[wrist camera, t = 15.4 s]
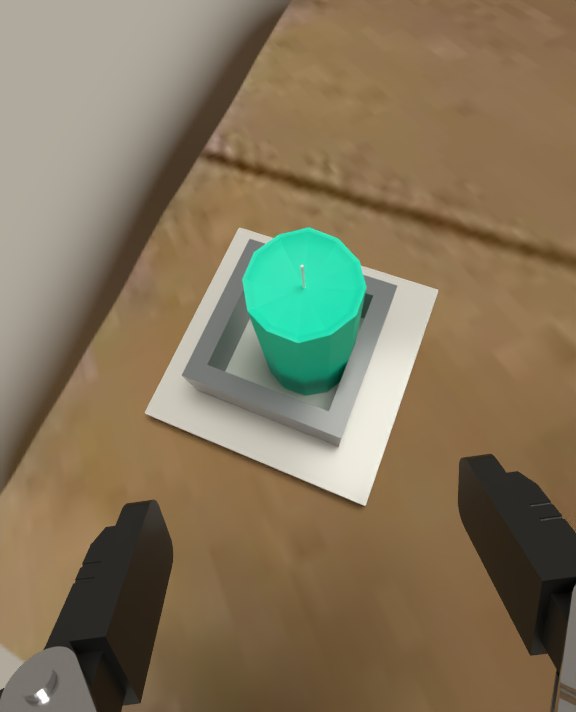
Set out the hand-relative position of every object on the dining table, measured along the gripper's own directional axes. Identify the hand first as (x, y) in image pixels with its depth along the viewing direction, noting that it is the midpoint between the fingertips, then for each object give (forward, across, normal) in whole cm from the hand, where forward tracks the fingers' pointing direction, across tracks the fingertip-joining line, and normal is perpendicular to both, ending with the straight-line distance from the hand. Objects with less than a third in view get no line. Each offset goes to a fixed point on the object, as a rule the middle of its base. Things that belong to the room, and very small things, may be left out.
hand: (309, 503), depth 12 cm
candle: (+19, -1, +5) cm, 20 cm away
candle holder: (+20, 0, +5) cm, 21 cm away
